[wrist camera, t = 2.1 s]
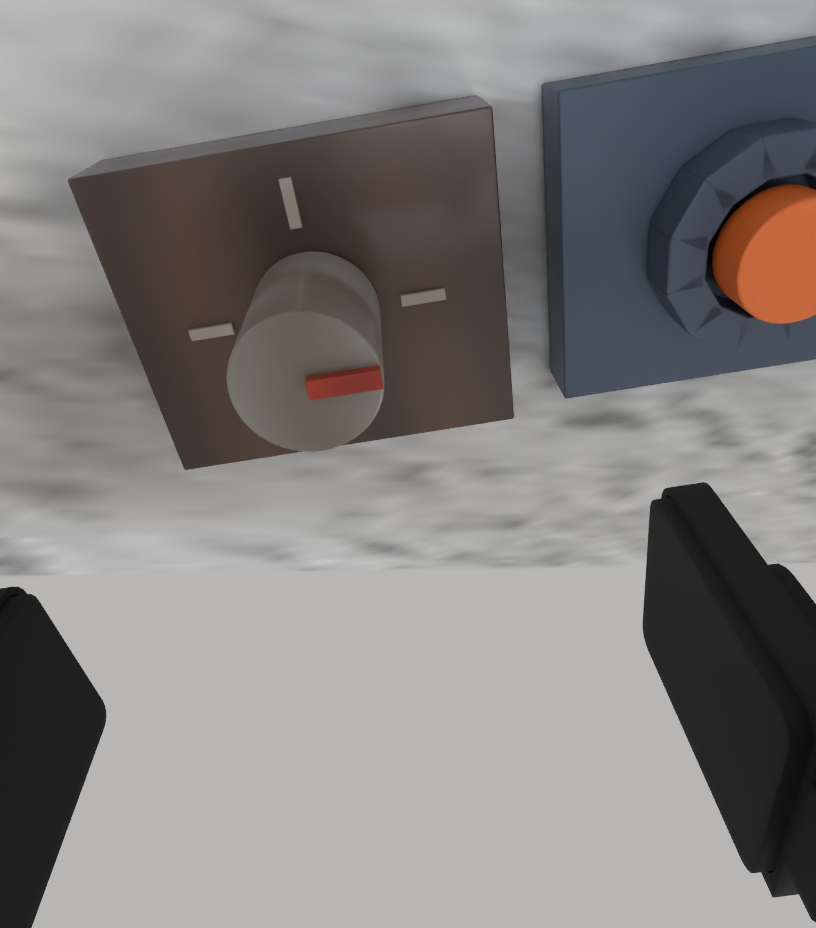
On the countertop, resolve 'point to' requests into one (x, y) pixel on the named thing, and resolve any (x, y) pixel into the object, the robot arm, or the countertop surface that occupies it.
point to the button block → (667, 212)
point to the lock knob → (309, 354)
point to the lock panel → (322, 230)
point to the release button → (770, 254)
